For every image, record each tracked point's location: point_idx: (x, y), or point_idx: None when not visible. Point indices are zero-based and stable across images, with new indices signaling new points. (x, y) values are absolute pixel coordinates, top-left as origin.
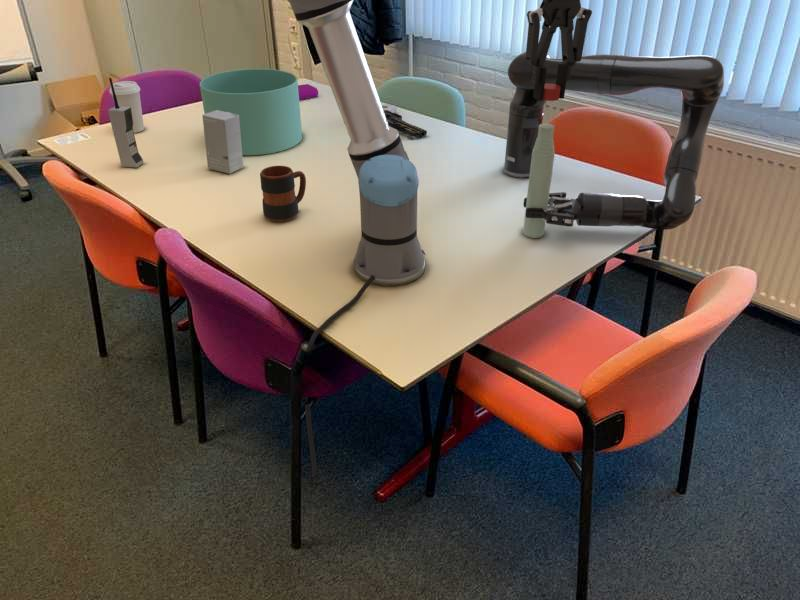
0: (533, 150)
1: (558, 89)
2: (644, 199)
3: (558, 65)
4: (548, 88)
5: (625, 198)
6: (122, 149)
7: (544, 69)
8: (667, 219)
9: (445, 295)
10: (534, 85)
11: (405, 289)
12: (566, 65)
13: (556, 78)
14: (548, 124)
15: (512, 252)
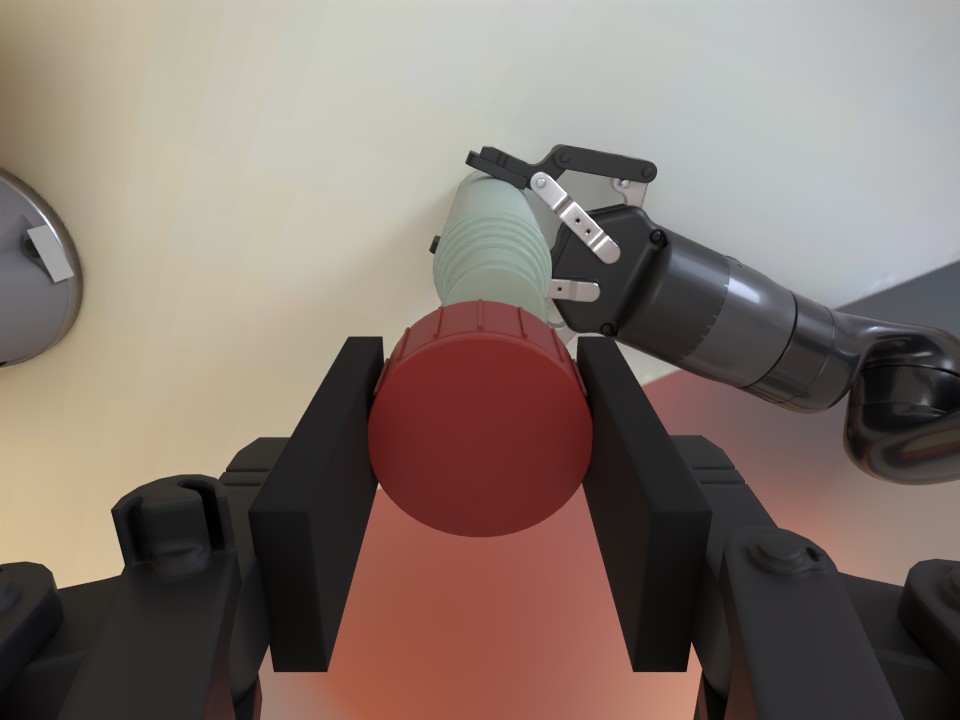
0: (436, 261)
1: (519, 527)
2: (838, 396)
3: (644, 506)
4: (423, 503)
5: (780, 372)
6: None
7: (297, 658)
8: (843, 445)
9: (117, 431)
10: (322, 382)
11: (17, 376)
12: (691, 632)
13: (606, 411)
14: (520, 295)
15: (368, 295)
